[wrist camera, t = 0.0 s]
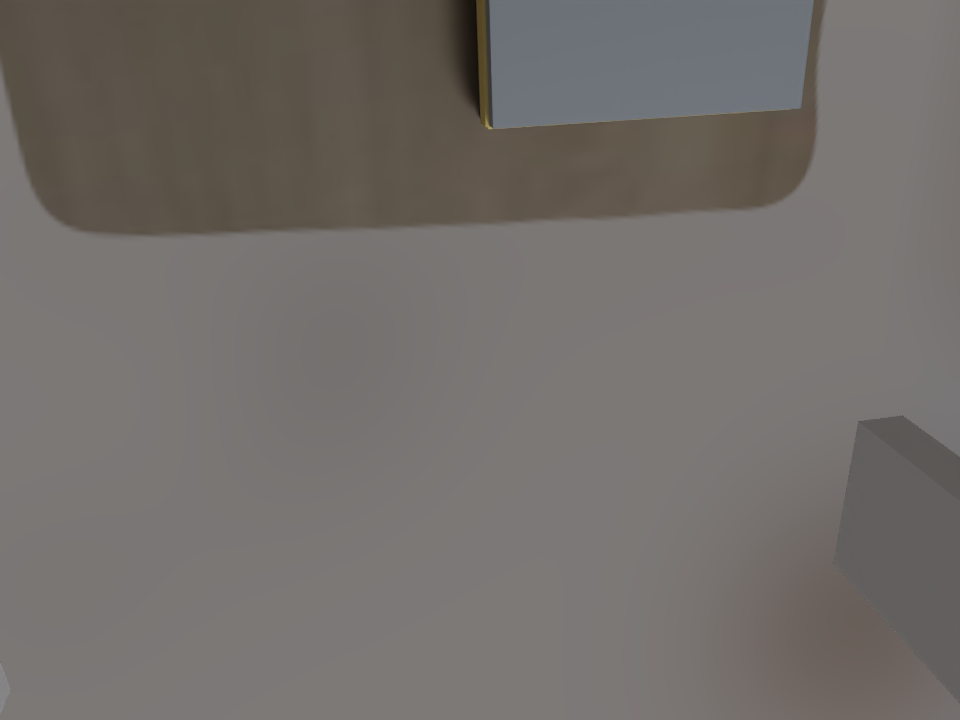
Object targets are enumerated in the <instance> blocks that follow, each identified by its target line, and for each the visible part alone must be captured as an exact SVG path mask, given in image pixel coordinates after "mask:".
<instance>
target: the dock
mask: <svg viewBox="0 0 960 720" xmlns="http://www.w3.org/2000/svg"><path fill="white" fill-rule="evenodd" d="M813 1H814V0H476V10H477V39H478V67H479V96H480V119H481V124H482V125H483V126H485V127H486V128H487V129H499V128H514V127H529V126H544V125H560V124H575V123H590V122H605V121H620V120H635V119H650V118H665V117H681V116H696V115H711V114H726V113H741V112H756V111H771V110H786V109H798V108H801V101H802V93H803V85H804V76H805V68H806V60H807V51H808V43H809V35H810V26H811V18H812V10H813Z"/></svg>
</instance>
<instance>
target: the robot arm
mask: <svg viewBox="0 0 960 720" xmlns="http://www.w3.org/2000/svg"><path fill="white" fill-rule="evenodd" d="M833 564H834V565H835V566H836V567H837V568H838V569H839V570H840V572H841V573H842V574H843V575H844V576H845V577H846V578H847V579H848V580H849V582H850V583H851V584H852V585H853V586H854V587H855V588H856V589H857V590H858V591H859V593H860V594H861V595H862V596H863V597H864V598H865V599H866V600H867V601H868V602H869V604H870V605H871V606H872V607H873V608H874V609H875V610H876V611H877V612H878V613H879V615H880V616H881V617H882V618H883V619H884V620H885V621H886V622H887V623H888V624H889V626H890V627H891V628H892V629H893V630H894V631H895V632H896V633H897V634H898V636H899V637H900V638H901V639H902V640H903V641H904V642H905V643H906V644H907V645H908V646H909V648H910V649H911V650H912V651H913V652H914V653H915V654H916V655H917V656H918V658H919V659H920V660H921V661H922V662H923V663H924V664H925V665H926V666H927V668H928V669H929V670H930V671H931V672H932V673H933V674H934V675H935V676H936V677H937V678H938V680H939V681H940V682H941V683H942V684H943V685H944V686H945V687H946V688H947V690H948V691H949V692H950V693H951V694H952V695H953V696H954V697H955V698H956V699H957V701H958V702H959V703H960V457H959V456H958V455H957V454H955V453H954V452H952V451H951V450H949V449H948V448H947V447H945V446H944V445H943V444H941V443H940V442H938V441H937V440H936V439H934V438H933V437H932V436H930V435H929V434H927V433H926V432H925V431H923V430H922V429H920V428H919V427H918V426H916V425H915V424H914V423H912V422H911V421H909V420H908V419H907V418H905V417H904V416H896V417H888V418H880V419H872V420H865V421H858V426H857V432H856V437H855V443H854V449H853V455H852V460H851V466H850V471H849V477H848V483H847V488H846V494H845V500H844V506H843V511H842V517H841V523H840V528H839V534H838V540H837V546H836V551H835V557H834V563H833ZM10 691H11V690H10V687H9V685H8V682H7V679H6V677H5V674H4V671H3V668H2V665H1V663H0V713H1V711H2V709H3V706H4V704H5V702H6V700H7V697H8V695H9V693H10Z"/></svg>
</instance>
